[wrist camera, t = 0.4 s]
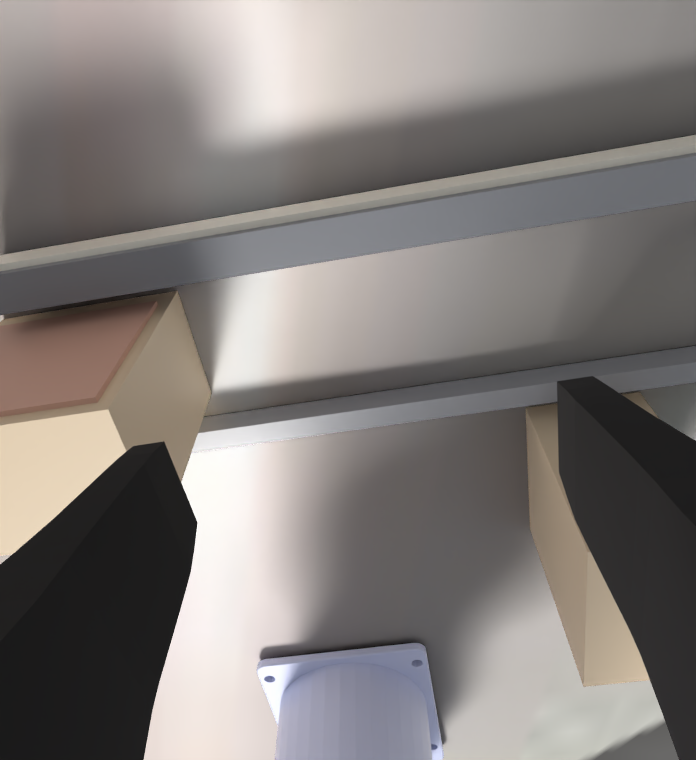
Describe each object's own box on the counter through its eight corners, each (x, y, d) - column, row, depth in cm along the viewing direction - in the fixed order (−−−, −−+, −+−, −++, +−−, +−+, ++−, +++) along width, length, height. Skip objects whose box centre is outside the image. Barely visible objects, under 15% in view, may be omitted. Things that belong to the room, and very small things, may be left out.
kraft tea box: (529, 528, 26) (583, 686, 20) (525, 407, 23) (587, 552, 17) (633, 515, 26) (720, 672, 20) (643, 390, 23) (749, 532, 17)
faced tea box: (211, 393, 23) (162, 534, 17) (53, 416, 23) (-50, 562, 17) (176, 286, 21) (105, 403, 15) (2, 314, 21) (-135, 440, 15)
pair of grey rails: (822, 347, 22) (862, 377, 20) (95, 451, 24) (75, 486, 22) (882, 95, 18) (939, 106, 16) (0, 249, 20) (-33, 272, 18)
